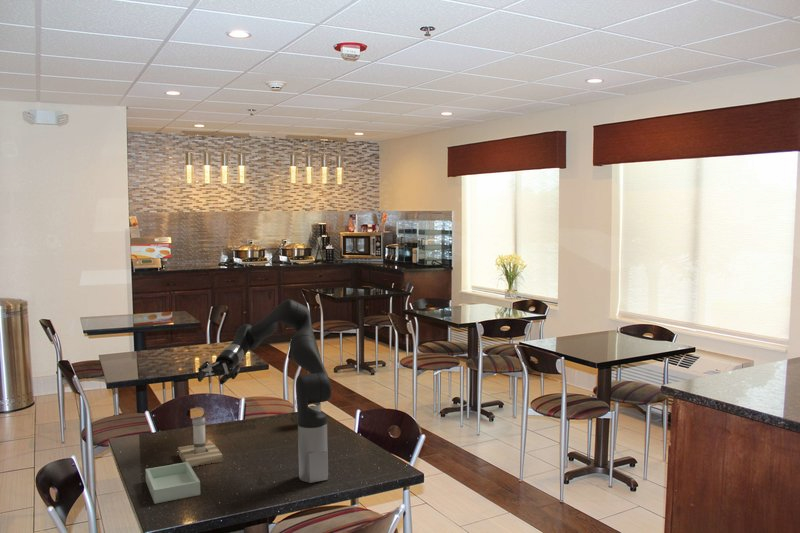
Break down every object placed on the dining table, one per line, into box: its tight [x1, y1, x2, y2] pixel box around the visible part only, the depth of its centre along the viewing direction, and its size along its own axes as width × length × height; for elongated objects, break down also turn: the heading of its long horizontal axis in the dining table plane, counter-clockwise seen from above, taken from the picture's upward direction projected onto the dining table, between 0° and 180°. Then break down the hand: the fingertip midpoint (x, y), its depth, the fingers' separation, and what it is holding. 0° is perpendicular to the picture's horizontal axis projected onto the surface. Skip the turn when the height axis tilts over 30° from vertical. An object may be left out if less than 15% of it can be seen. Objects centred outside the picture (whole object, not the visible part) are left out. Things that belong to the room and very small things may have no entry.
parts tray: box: [145, 462, 201, 504], centre depth 201 cm, size 20×13×4 cm, turn 28°
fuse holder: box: [177, 441, 223, 468], centre depth 228 cm, size 16×12×2 cm
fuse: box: [192, 416, 207, 454], centre depth 228 cm, size 4×4×14 cm
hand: (209, 381), depth 232 cm, fingers open, 8 cm apart
